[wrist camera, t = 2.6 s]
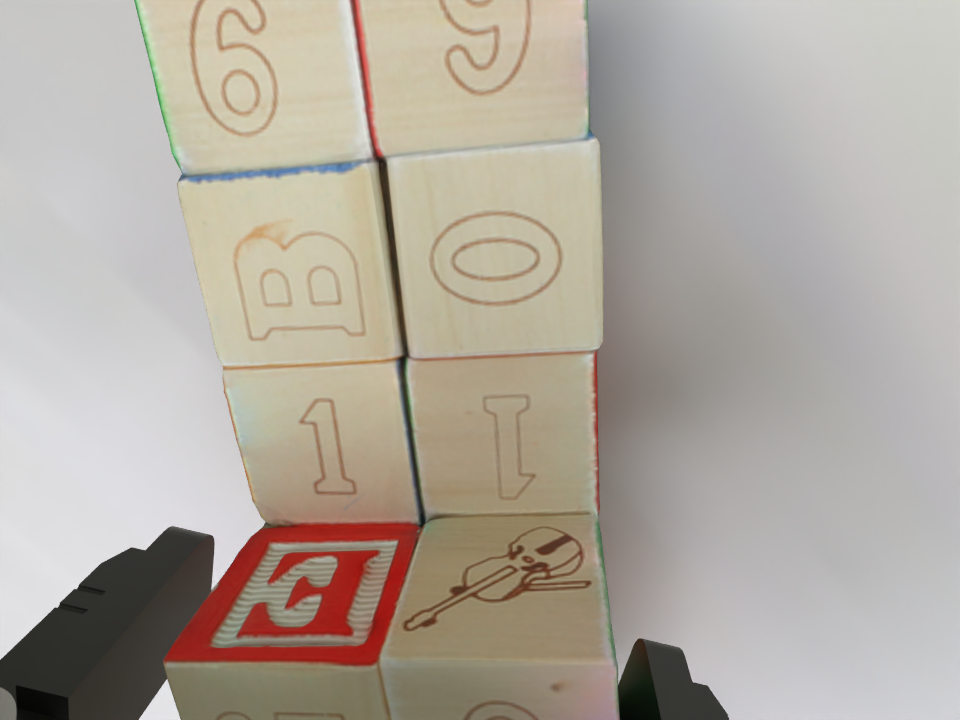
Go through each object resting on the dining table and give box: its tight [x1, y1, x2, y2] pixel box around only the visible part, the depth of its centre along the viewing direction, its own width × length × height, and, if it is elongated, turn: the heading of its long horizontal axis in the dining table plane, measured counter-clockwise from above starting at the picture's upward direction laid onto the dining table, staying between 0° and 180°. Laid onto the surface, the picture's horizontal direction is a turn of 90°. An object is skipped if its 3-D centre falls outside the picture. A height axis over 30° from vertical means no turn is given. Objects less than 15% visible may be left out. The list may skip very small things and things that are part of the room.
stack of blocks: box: [134, 0, 620, 720], centre depth 14 cm, size 21×6×12 cm, turn 4°
